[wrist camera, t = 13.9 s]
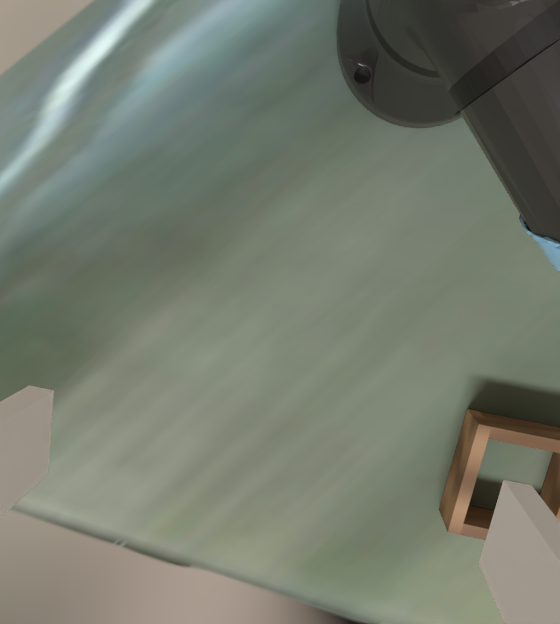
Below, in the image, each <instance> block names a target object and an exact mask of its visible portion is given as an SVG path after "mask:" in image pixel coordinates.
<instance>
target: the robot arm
mask: <svg viewBox="0 0 560 624" xmlns="http://www.w3.org/2000/svg"><path fill="white" fill-rule="evenodd" d="M337 52H338V58H339V63H340V67H341V70H342V73H343V76H344V78H345V80H346V82H347V84H348V86H349V88H350V90H351V91H352V93H353V94H354V95H355V97H356V98H357V99H358V100H359V102H360V103H361V104H362V105H363V106H364V107H365V108H367V109H368V110H369V111H370V112H372V113H373V114H374V115H376V116H378V117H379V118H381V119H383V120H385V121H387V122H390V123H392V124H396V125H399V126H404V127H410V128H428V127H435V126H440V125H443V124H447V123H450V122H452V121H455V120H457V119H459V118H461V117H463V118H464V120H465V122H466V123H467V125H468V127H469V128H470V130H471V132H472V133H473V135H474V137H475V138H476V140H477V142H478V144H479V145H480V147H481V149H482V150H483V152H484V154H485V155H486V157H487V159H488V160H489V162H490V164H491V166H492V167H493V169H494V171H495V172H496V174H497V176H498V177H499V179H500V181H501V182H502V184H503V186H504V188H505V189H506V191H507V193H508V194H509V196H510V198H511V199H512V201H513V203H514V204H515V206H516V208H517V210H518V211H519V213H520V217H519V219H520V222H521V224H522V227H523V228H524V230H525V231H526V232H527V233H528V234H529V235H530V236H531V237H532V238H533V239H535V240H536V241H537V243H538V244H539V246H540V247H541V249H542V250H543V252H544V253H545V255H546V256H547V258H548V259H549V261H550V262H551V264H552V265H553V266H554V268H556V269H557V270H558V271H559V272H560V0H342V2H341V6H340V10H339V16H338V27H337ZM53 395H54V390H49V389H44V388H39V387H34V386H28V387H26V388H24V389H22V390H20V391H19V392H17V393H15V394H13V395H12V396H10V397H8V398H6V399H4V400H3V401H1V402H0V518H1V517H2V516H3V515H4V514H5V513H6V512H7V511H8V510H10V509H11V508H12V507H13V506H14V505H15V504H16V503H17V502H18V501H19V500H20V499H22V498H23V497H24V496H25V495H26V494H27V493H28V492H29V491H30V490H31V489H32V488H33V487H35V486H36V485H37V484H38V483H39V482H40V481H41V480H42V479H43V478H44V477H45V476H46V475H48V469H49V455H50V440H51V425H52V410H53ZM479 566H480V569H481V571H482V573H483V575H484V578H485V580H486V582H487V584H488V587H489V589H490V591H491V593H492V596H493V598H494V600H495V602H496V605H497V607H498V609H499V611H500V614H501V616H502V618H503V620H504V623H505V624H560V522H559V520H558V519H557V518H556V516H555V515H554V514H553V513H552V511H551V510H550V509H549V507H548V506H547V505H546V504H545V502H544V501H543V500H542V498H541V497H540V496H539V494H538V493H537V492H536V491H535V489H534V488H533V487H532V485H527V484H522V483H517V482H512V481H507V480H503V483H502V487H501V490H500V494H499V497H498V500H497V504H496V507H495V510H494V514H493V517H492V521H491V524H490V527H489V531H488V534H487V537H486V541H485V544H484V547H483V551H482V554H481V558H480V561H479Z"/></svg>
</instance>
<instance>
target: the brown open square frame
mask: <svg viewBox="0 0 560 624" xmlns="http://www.w3.org/2000/svg"><path fill="white" fill-rule="evenodd" d="M488 439H492V440H497V441H502V442H507V443H512V444H517V445H522V446H527V447H532V448H536V449H541V450H546V451H551V452H554V453H553V456H552V459H551V462H550V465H549V468H548V471H547V474H546V477H545V480H544V483H543V486H542V490H541V493H540V497H541V498H542V500H543V501H544V502H545V504H546V505H547V506H548V507H549V509H550V510H551V511H552V513H553V514H554V515H555V516H556V518H557V519H558V520H559V522H560V427H555V426H550V425H545V424H540V423H535V422H530V421H525V420H520V419H515V418H510V417H505V416H500V415H495V414H490V413H485V412H480V411H475V410H470V409H467V411H466V415H465V419H464V422H463V426H462V429H461V433H460V436H459V440H458V444H457V447H456V451H455V454H454V458H453V462H452V465H451V469H450V472H449V476H448V480H447V483H446V487H445V490H444V494H443V498H442V501H441V505H440V508H439V511H440V513H441V516H442V519H443V521H444V524H445V526H446V529H447V531H448V532H450V533H455V534H460V535H464V536H469V537H474V538H478V539H483V540H486V537H487V534H488V531H489V527H490V524H491V521H492V517H493V514H494V511H493V510H488V509H484V508H479V507H474V506H469V503H470V499H471V496H472V493H473V489H474V486H475V482H476V479H477V476H478V472H479V469H480V465H481V462H482V458H483V455H484V452H485V448H486V445H487V441H488Z"/></svg>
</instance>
